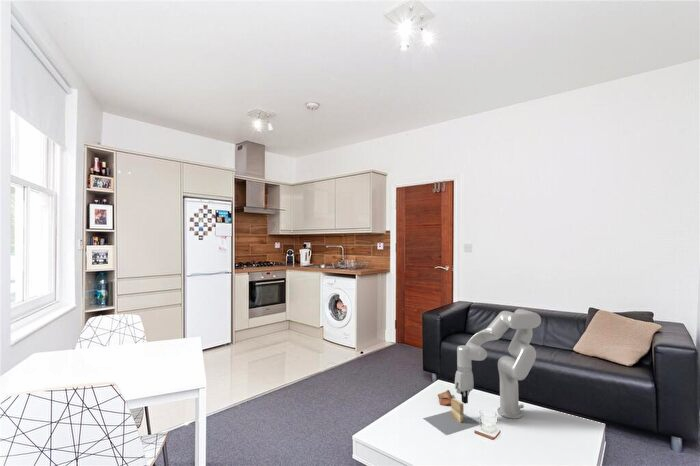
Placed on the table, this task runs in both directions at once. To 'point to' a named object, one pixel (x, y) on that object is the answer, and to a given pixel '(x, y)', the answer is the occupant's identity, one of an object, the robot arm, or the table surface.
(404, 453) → the table surface
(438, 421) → the rubber mat
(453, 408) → the maple tile
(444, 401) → the sunglasses case
